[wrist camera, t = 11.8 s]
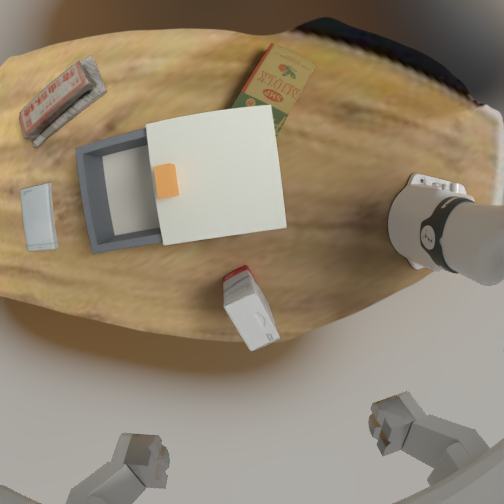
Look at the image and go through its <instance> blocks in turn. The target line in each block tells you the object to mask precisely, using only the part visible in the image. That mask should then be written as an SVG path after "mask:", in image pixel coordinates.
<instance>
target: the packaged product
mask: <svg viewBox="0 0 504 504" xmlns="http://www.w3.org/2000/svg"><path fill="white" fill-rule="evenodd" d="M105 93H107V90H106V87H105V85H104V82H103V80H102V78H101V75H100V73H99V70H98V67H97V64H96V62H95V60H94V59H93V57H92V55H90V56H88V57H87V58H86V59H84V60H82V61H81V62H80V61H78V62H77V63H76V64H74V65H73V66H71V67H70V68H69V69H68V70H66V71H65V72H64V73H62V74H61V75H60V76H59V77H58V78H56V79H55V80H54V81H53V82H52V83H50V84H49V85H48V86H47V87H46V88H45V89H44V90H42V91H41V92H40V93H39V94H38V95H37V96H36V97H35V98H34V99H33V100H32V101H31V102H29V103H28V104H27V105H26V106H25V107H24V108H23V109H22V110H21V112H20V116H19V120H20V123H21V126H22V132H23V134H24V138H25V139H30V140H32V142H33V145H34V146H35V147H39V146H40V145H41V144H42V143H44V142H45V141H46V140H47V139H48V138H49V137H50V136H52V135H53V134H54V133H55V132H57V131H58V130H59V129H60V128H61V127H63V126H64V125H65V124H66V123H68V122H69V121H70V120H72V119H73V118H74V117H75V116H77V115H78V114H79V113H81V112H82V111H83V110H84V109H86V108H87V107H88V106H90V105H91V104H92V103H94V102H95V101H96V100H97V99H99V98H100V97H102V96H103V95H104V94H105Z"/></svg>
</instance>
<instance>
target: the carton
mask: <svg viewBox="0 0 504 504" xmlns="http://www.w3.org/2000/svg"><path fill="white" fill-rule="evenodd" d="M315 68H316V65H314V64H313V63H311V62H309V61H307V60H306V59H304V58H302V57H300V56H298V55H296V54H294V53H292V52H290V51H288V50H286V49H284V48H282V47H280V46H278V45H275V44H273V43H271V44H270V46H269V48H268V49H267V51H266V52H265V54H264V55H263V57H262V58H261V60H260V61H259V63H258V65H257V66H256V68H255V69H254V71H253V72H252V74H251V76H250V77H249V79H248V80H247V82H246V84H245V85H244V87H243V88H242V90H241V92H240V93H239V95H238V97H237V98H236V100H235V102H234V103H233V105H232V107H231V108H230V109H233V108H242V107H251V106H261V105H271V108H272V115H273V122H274V129H275V136H277V134H278V133H279V131H280V129H281V127H282V125H283V123H284V122H285V120H286V118H287V116H288V114H289V113H290V111H291V109H292V107H293V105H294V104H295V102H296V100H297V98H298V97H299V95H300V93H301V91H302V90H303V88H304V86H305V84H306V83H307V81H308V79H309V77H310V76H311V74H312V72H313V71H314V69H315Z"/></svg>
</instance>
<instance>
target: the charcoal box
mask: <svg viewBox="0 0 504 504" xmlns="http://www.w3.org/2000/svg"><path fill="white" fill-rule="evenodd" d="M76 158H77V167H78V176H79V183H80V191H81V197H82V203H83V209H84V215H85V220H86V226H87V231H88V235H89V240H90V245H91V249H92V253H93V254H95V253H101V252H107V251H113V250H119V249H125V248H131V247H137V246H143V245H149V244H155V243H161V242H163V239H162V234H161V229H160V223H159V218H158V212H157V206H156V200H155V193H154V187H153V180H152V173H151V165H150V157H149V149H148V140H147V131H146V128H144V129H140V130H136V131H132V132H128V133H125V134H121V135H117V136H114V137H110V138H107V139H104V140H100V141H97V142H94V143H91V144H88V145H85V146H82V147H79V148H76Z"/></svg>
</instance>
